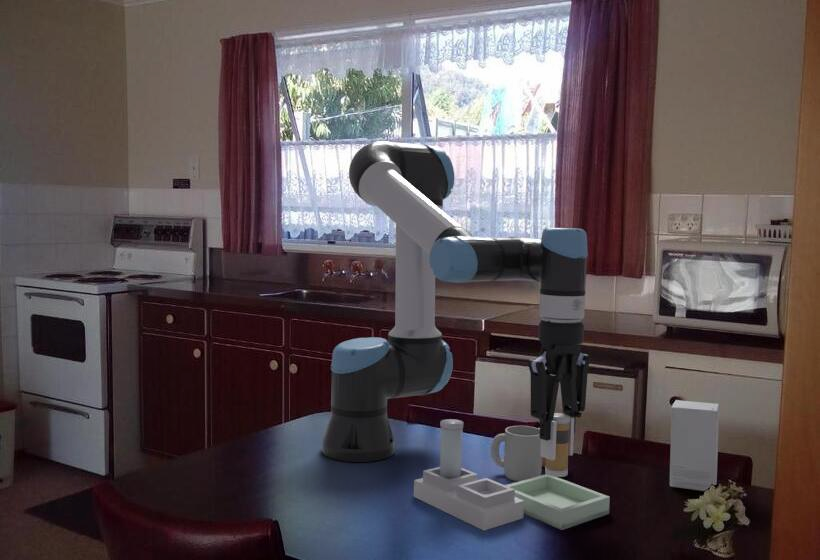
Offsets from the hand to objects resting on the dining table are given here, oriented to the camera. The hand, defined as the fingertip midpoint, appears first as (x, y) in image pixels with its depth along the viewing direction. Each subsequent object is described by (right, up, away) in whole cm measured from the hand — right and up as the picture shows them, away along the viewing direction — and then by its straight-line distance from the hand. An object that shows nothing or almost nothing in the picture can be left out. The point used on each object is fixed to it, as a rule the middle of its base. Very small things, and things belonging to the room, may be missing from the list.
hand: (556, 455), depth 133 cm
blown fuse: (0, -3, 0) cm, 3 cm away
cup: (-5, -8, +18) cm, 20 cm away
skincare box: (+28, -9, +15) cm, 33 cm away
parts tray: (0, -9, +1) cm, 9 cm away
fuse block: (-15, -9, +1) cm, 18 cm away
